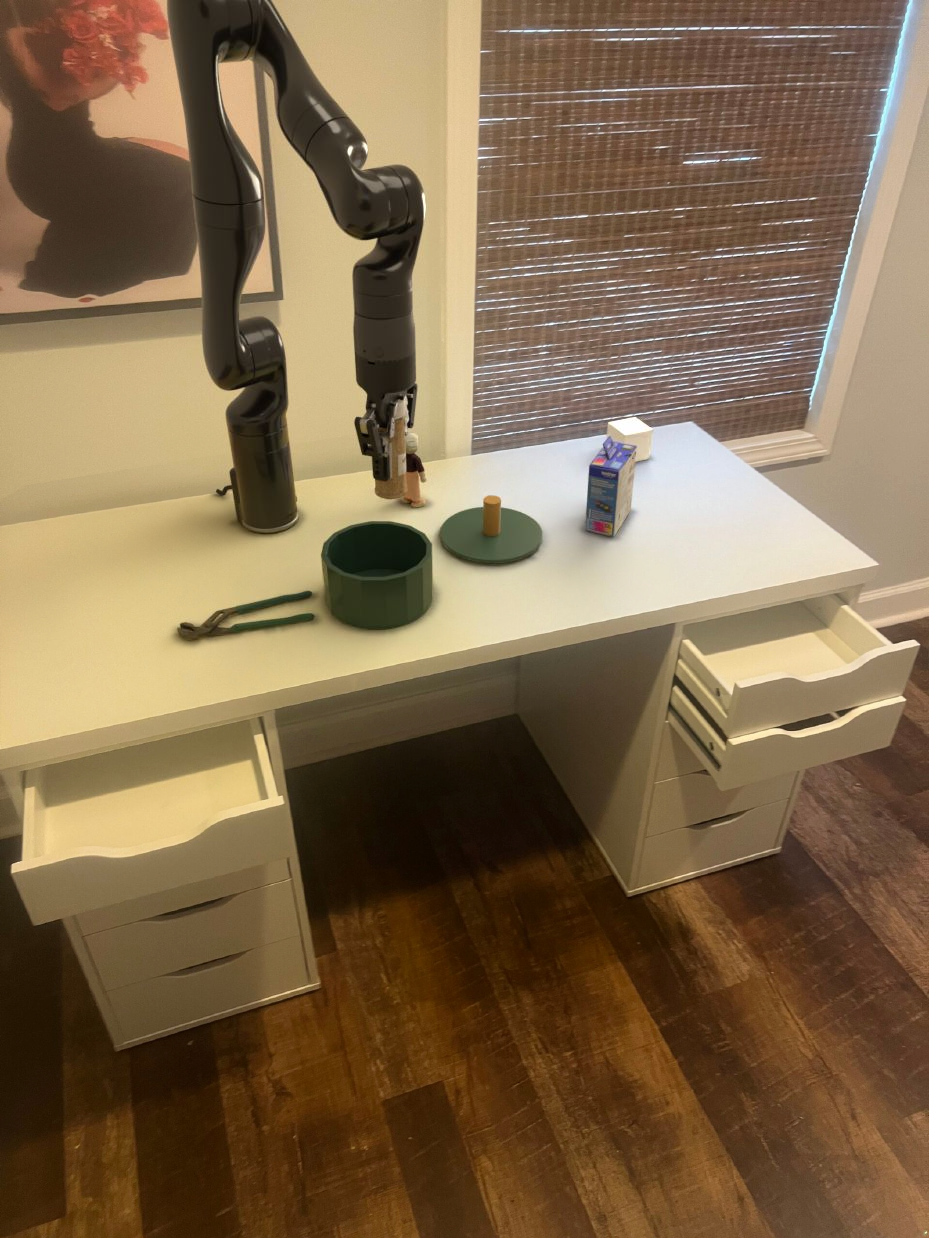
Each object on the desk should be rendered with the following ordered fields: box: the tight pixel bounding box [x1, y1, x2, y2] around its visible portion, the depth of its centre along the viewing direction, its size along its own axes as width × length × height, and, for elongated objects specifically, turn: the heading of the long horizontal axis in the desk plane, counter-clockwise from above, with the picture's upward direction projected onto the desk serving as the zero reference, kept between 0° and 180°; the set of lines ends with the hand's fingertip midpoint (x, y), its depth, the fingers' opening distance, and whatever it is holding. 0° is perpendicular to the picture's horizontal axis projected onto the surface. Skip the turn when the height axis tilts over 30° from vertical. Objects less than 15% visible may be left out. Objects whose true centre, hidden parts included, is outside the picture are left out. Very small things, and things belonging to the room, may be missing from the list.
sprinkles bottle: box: [374, 399, 407, 500], centre depth 119 cm, size 5×5×13 cm
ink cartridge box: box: [584, 436, 637, 538], centre depth 148 cm, size 10×6×14 cm, turn 155°
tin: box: [320, 520, 434, 631], centre depth 131 cm, size 16×16×8 cm
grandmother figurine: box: [401, 432, 427, 508], centre depth 153 cm, size 8×4×13 cm, turn 58°
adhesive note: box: [605, 416, 654, 463], centre depth 170 cm, size 6×6×6 cm
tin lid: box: [439, 495, 543, 564], centre depth 145 cm, size 17×17×7 cm
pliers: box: [176, 590, 316, 641], centre depth 129 cm, size 20×7×1 cm, turn 109°
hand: (389, 470), depth 121 cm, fingers closed on sprinkles bottle, 4 cm apart
